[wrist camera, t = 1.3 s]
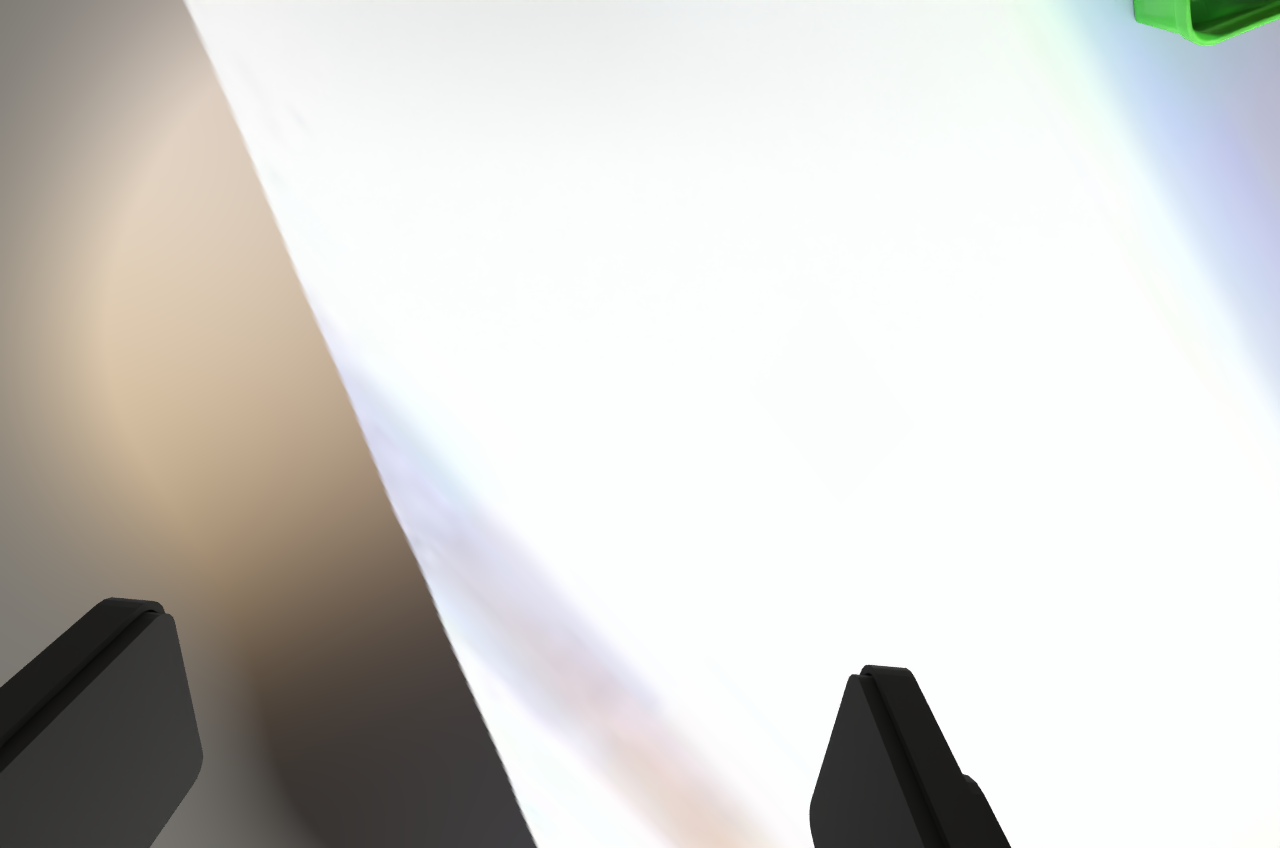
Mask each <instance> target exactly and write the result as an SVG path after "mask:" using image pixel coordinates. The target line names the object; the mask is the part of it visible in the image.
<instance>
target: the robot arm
mask: <svg viewBox="0 0 1280 848" xmlns="http://www.w3.org/2000/svg"><path fill="white" fill-rule="evenodd" d="M202 760H203V752H202V747H201V742H200V738H199V733H198V728H197V724H196V719H195V714H194V709H193V705H192V700H191V695H190V691H189V686H188V681H187V677H186V672H185V667H184V663H183V658H182V653H181V649H180V644H179V639H178V635H177V631H176V625H175V622H174V619H173V617H172V616H171V615H170V614H166V613H165V612H164V609H163V607H162V605H160V604H159V603H158V602H155V601H146V600H135V599H124V598H108V599H104V600H103V601H102V602H100V603H98V604H97V605H96V606H94V607H93V608H92V609H91V610H90V611H89V612H87V613H86V614H85V615H84V616H83V617H82V618H81V619H79V620H78V621H77V622H76V623H75V624H74V625H72V626H71V627H70V628H69V629H68V630H67V631H66V632H64V633H63V634H62V635H61V636H60V637H59V638H57V639H56V640H55V641H54V642H53V643H52V644H50V645H49V646H48V647H47V648H46V649H45V650H44V651H42V652H41V653H40V654H39V655H38V656H36V658H34V659H33V660H32V661H31V662H30V663H28V664H27V665H26V666H25V667H24V668H23V669H21V670H20V671H19V672H18V673H17V674H16V675H15V676H13V677H12V678H11V679H10V680H9V681H8V682H6V683H5V684H4V685H3V686H2V687H1V688H0V848H150V846H151V845H152V843H153V842H154V840H155V839H156V837H157V836H158V834H159V833H160V832H161V830H162V829H163V827H164V825H165V824H166V823H167V822H168V820H169V819H170V817H171V816H172V814H173V813H174V811H175V810H176V809H177V807H178V806H179V804H180V803H181V801H182V800H183V798H184V797H185V795H186V794H187V793H188V791H189V790H190V788H191V787H192V785H193V784H194V782H195V780H196V779H197V777H198V774H199V772H200V769H201V765H202ZM810 828H811V834H812V838H813V842H814V846H815V848H1011V846H1010V844H1009V842H1008V840H1007V838H1006V836H1005V835H1004V833H1003V831H1002V829H1001V827H1000V825H999V823H998V821H997V819H996V817H995V815H994V813H993V811H992V809H991V807H990V805H989V803H988V801H987V799H986V797H985V795H984V794H983V792H982V791H981V789H980V788H979V786H978V784H977V783H976V782H975V781H974V780H973V779H972V778H970V777H969V776H968V775H964V774H962V772H961V770H960V768H959V766H958V764H957V762H956V760H955V758H954V756H953V754H952V752H951V750H950V748H949V746H948V744H947V742H946V740H945V738H944V736H943V734H942V732H941V730H940V728H939V726H938V724H937V722H936V720H935V718H934V716H933V714H932V712H931V709H930V707H929V705H928V703H927V701H926V699H925V697H924V695H923V693H922V691H921V689H920V687H919V685H918V683H917V681H916V679H915V677H914V676H913V674H912V673H911V671H910V670H908V669H907V668H898V667H887V666H876V665H865V666H864V667H863V668H862V671H861V673H860V675H856V674H852V675H851V676H850V677H849V679H848V681H847V685H846V688H845V691H844V695H843V698H842V701H841V704H840V708H839V711H838V714H837V718H836V721H835V724H834V727H833V731H832V734H831V737H830V741H829V744H828V747H827V750H826V754H825V757H824V760H823V764H822V767H821V770H820V773H819V777H818V780H817V783H816V787H815V790H814V793H813V796H812V800H811V804H810Z"/></svg>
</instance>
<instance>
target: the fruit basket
mask: <svg viewBox="0 0 1280 848" xmlns="http://www.w3.org/2000/svg"><path fill="white" fill-rule="evenodd" d="M1134 11H1135V19H1136V21H1137V22H1138V23H1142V24H1145V25H1149V26H1152V27H1156V28H1160V29H1163V30H1167V31H1170V32H1174V33H1177V34H1180V35H1181V36H1182V37H1183V38H1185V39H1187V40H1189V41H1191V42H1193V43H1195V44H1198V45H1202V46H1210V45H1215V44H1217V43H1220V42H1222V41H1225V40H1227V39H1230V38H1232V37H1234V36H1237V35H1239V34H1242V33H1244V32H1247V31H1249V30H1252V29H1254V28H1257V27H1259V26H1262V25H1264V24H1267V23H1270V22H1272V21H1275V20H1277V19H1279V18H1280V0H1134Z"/></svg>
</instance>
